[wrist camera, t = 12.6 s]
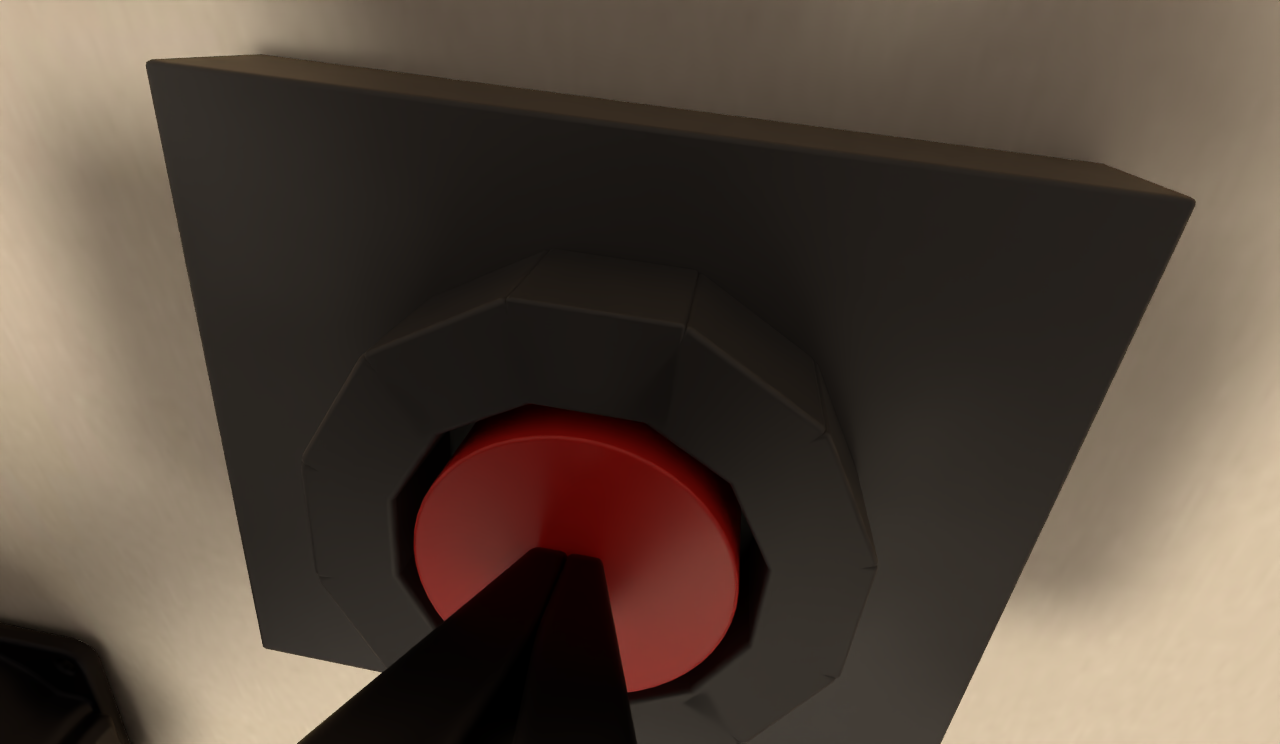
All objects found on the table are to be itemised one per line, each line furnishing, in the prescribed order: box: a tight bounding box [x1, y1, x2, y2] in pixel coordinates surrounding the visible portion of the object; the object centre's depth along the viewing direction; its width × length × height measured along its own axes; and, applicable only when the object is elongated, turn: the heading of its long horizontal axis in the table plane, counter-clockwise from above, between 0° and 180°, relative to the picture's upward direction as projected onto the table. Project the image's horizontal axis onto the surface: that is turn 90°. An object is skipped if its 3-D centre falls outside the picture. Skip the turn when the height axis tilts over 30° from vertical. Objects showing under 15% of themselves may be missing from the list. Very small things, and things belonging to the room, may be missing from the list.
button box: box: [146, 54, 1196, 744], centre depth 10 cm, size 12×10×4 cm
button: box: [414, 404, 741, 692], centre depth 9 cm, size 4×4×2 cm
